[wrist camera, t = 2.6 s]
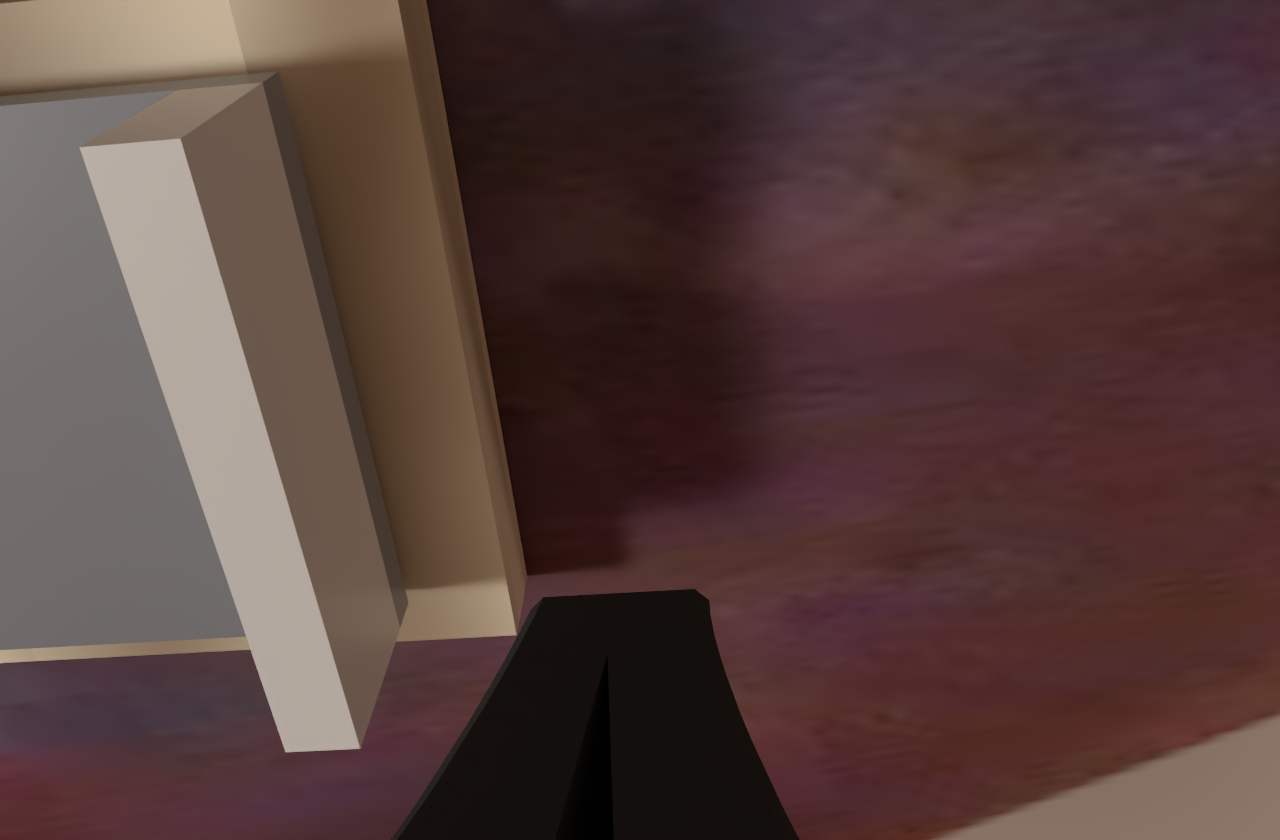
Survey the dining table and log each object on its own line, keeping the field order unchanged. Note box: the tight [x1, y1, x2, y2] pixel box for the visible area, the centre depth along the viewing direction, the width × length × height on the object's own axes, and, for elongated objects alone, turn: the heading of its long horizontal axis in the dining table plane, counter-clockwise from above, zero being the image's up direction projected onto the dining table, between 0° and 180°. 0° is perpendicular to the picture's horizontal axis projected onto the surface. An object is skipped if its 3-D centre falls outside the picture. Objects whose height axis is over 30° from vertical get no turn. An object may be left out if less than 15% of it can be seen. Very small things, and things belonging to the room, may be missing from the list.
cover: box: [0, 71, 408, 752], centre depth 14 cm, size 7×8×3 cm
